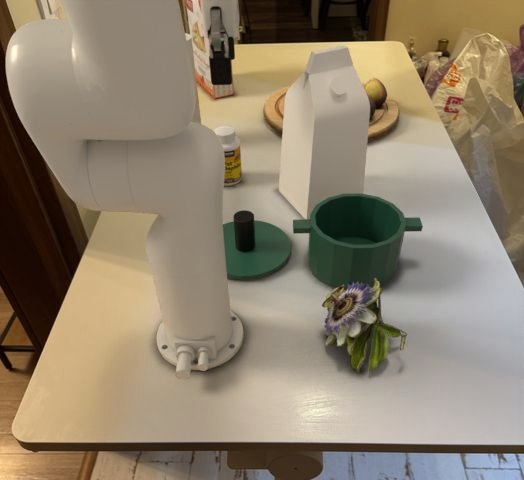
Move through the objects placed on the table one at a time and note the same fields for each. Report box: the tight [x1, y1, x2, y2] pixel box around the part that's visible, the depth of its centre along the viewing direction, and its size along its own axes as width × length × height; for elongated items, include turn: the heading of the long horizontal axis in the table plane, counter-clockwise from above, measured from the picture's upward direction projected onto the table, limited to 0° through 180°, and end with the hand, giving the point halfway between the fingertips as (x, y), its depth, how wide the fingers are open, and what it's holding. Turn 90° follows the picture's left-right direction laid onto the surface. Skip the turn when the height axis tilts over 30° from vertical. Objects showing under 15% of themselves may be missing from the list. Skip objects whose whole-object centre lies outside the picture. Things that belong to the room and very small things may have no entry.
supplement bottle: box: [213, 125, 243, 187], centre depth 101 cm, size 6×6×10 cm
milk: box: [278, 44, 370, 219], centre depth 90 cm, size 12×12×26 cm
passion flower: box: [321, 278, 408, 373], centre depth 72 cm, size 11×11×12 cm
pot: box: [292, 193, 424, 290], centre depth 83 cm, size 15×20×8 cm
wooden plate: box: [263, 77, 401, 143], centre depth 120 cm, size 32×32×8 cm
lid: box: [223, 209, 292, 279], centre depth 86 cm, size 16×16×7 cm
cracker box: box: [185, 0, 235, 100], centre depth 128 cm, size 14×6×21 cm, turn 25°
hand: (223, 71), depth 84 cm, fingers open, 9 cm apart
